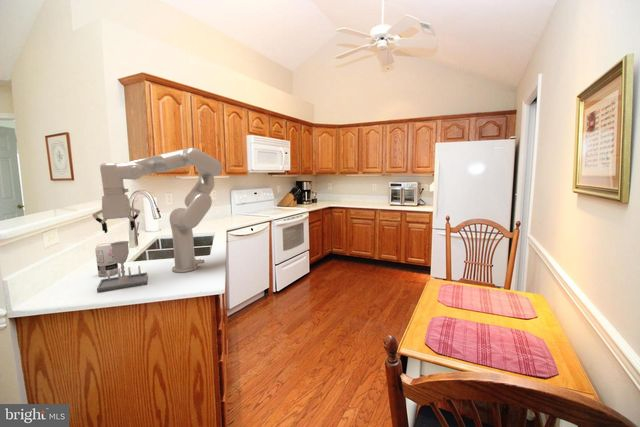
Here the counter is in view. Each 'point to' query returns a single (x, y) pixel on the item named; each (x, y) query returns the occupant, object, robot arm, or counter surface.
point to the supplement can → (106, 260)
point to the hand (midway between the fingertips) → (119, 231)
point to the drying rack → (113, 284)
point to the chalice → (121, 258)
